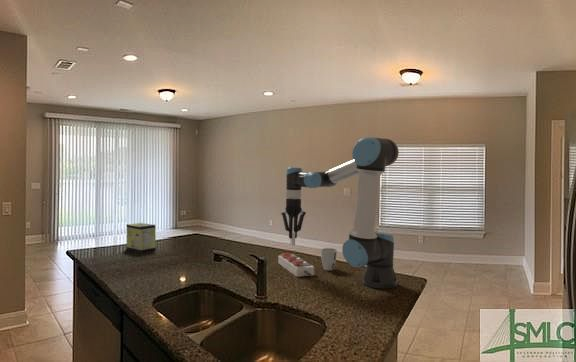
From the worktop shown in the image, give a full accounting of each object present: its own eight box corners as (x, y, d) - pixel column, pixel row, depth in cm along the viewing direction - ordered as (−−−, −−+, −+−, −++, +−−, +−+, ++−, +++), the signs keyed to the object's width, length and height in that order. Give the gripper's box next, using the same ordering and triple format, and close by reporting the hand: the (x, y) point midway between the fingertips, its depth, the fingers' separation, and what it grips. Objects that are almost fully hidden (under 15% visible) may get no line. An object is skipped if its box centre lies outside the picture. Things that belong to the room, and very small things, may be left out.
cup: (335, 271, 198) (336, 251, 198) (319, 270, 200) (319, 251, 200) (337, 267, 206) (337, 248, 206) (321, 266, 208) (321, 247, 208)
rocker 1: (290, 255, 209) (290, 253, 209) (284, 256, 208) (284, 253, 208) (287, 255, 214) (287, 253, 214) (281, 256, 213) (280, 253, 213)
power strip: (319, 278, 186) (319, 269, 186) (301, 280, 183) (301, 270, 183) (293, 261, 218) (294, 253, 218) (278, 262, 215) (278, 255, 215)
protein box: (141, 246, 254) (140, 222, 254) (156, 249, 245) (156, 224, 245) (126, 249, 246) (125, 224, 245) (141, 252, 237) (141, 226, 236)
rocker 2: (296, 259, 201) (296, 256, 201) (290, 260, 200) (289, 257, 200) (293, 259, 206) (293, 256, 206) (286, 260, 204) (286, 257, 205)
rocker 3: (303, 263, 192) (303, 260, 192) (296, 264, 191) (296, 261, 191) (299, 263, 197) (299, 260, 197) (292, 264, 196) (292, 261, 196)
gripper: (303, 197, 205) (302, 242, 206) (278, 197, 201) (278, 243, 202) (308, 198, 198) (307, 245, 199) (283, 199, 194) (282, 247, 195)
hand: (292, 244), depth 201 cm, fingers closed
